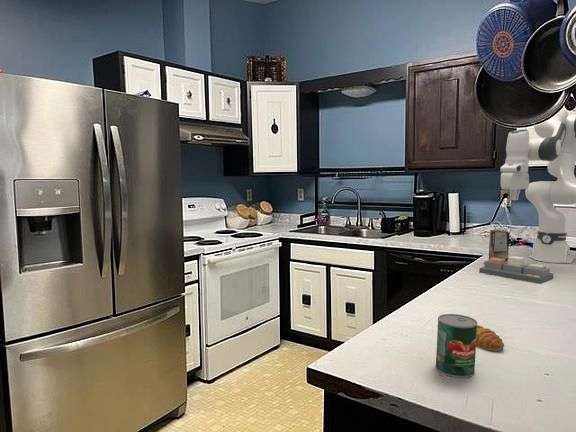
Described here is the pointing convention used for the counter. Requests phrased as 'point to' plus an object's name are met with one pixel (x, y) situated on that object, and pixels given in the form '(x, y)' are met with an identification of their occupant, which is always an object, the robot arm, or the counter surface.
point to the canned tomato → (456, 345)
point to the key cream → (516, 261)
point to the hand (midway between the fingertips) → (514, 200)
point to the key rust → (497, 260)
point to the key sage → (537, 266)
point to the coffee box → (499, 244)
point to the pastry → (488, 339)
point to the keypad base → (516, 272)
